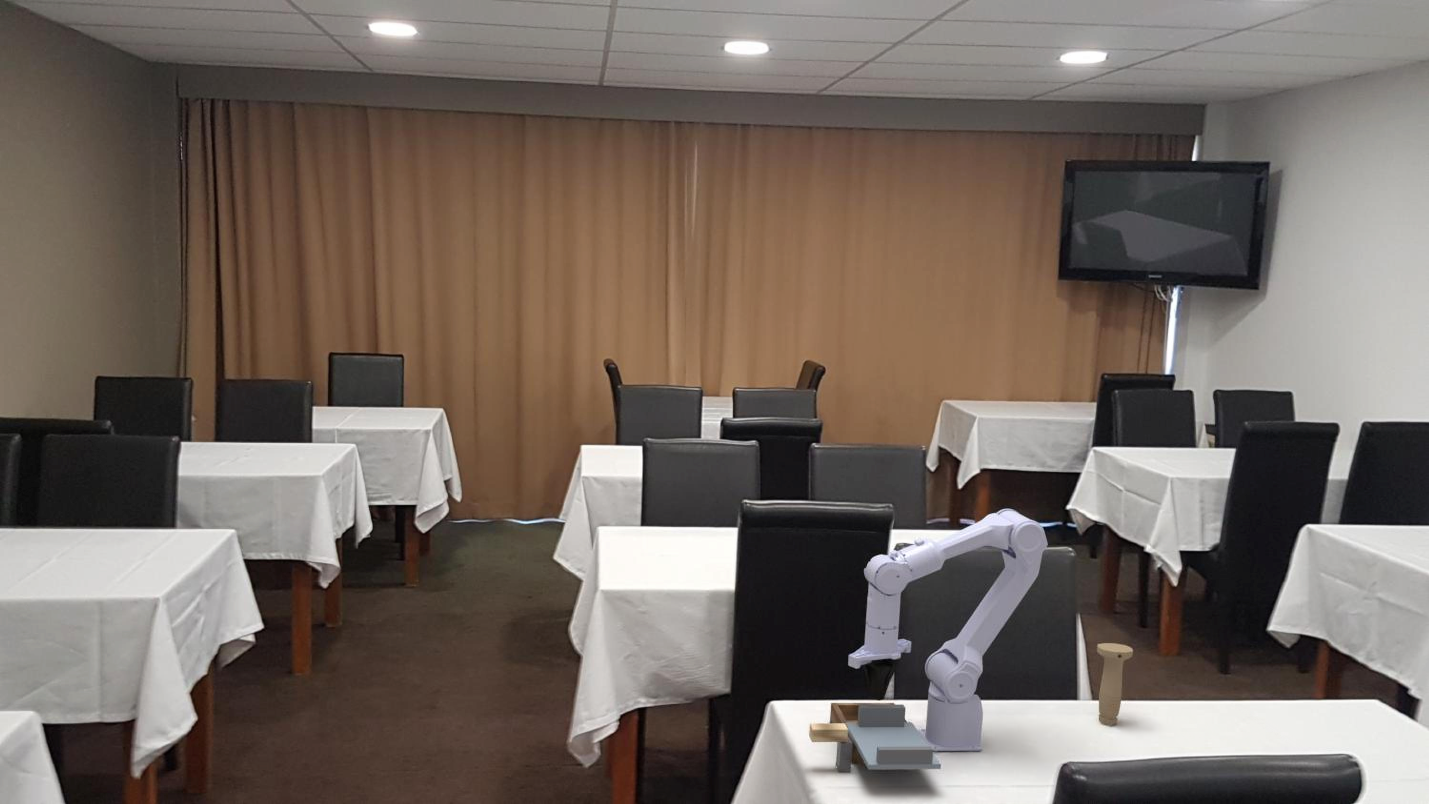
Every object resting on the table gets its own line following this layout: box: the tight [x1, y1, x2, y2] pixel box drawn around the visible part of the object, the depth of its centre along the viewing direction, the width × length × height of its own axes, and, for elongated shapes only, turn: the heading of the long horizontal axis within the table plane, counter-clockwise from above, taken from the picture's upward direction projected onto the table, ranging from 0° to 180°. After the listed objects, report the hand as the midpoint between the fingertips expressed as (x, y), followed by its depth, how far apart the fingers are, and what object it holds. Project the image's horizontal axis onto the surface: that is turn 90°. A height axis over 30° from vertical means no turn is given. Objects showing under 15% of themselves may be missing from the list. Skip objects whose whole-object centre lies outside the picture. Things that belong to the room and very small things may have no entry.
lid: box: [845, 704, 942, 770], centre depth 182 cm, size 12×16×4 cm
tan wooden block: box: [808, 722, 848, 743], centre depth 181 cm, size 6×2×2 cm, turn 97°
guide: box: [835, 737, 853, 774], centre depth 182 cm, size 2×2×5 cm
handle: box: [1096, 642, 1134, 727], centre depth 206 cm, size 5×6×15 cm
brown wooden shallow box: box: [829, 702, 908, 764], centre depth 193 cm, size 12×16×4 cm
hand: (877, 697), depth 192 cm, fingers closed
